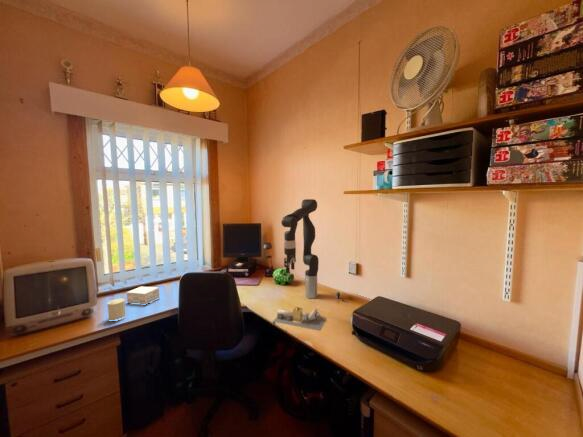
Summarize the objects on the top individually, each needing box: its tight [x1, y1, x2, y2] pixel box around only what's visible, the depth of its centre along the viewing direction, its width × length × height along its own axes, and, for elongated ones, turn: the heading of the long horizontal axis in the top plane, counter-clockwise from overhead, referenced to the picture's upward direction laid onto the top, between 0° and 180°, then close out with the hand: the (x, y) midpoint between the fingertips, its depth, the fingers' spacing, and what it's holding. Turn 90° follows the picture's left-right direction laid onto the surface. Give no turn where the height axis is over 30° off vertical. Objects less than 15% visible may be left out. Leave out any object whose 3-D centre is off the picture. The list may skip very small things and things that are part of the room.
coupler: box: [292, 306, 304, 322], centre depth 147 cm, size 4×4×8 cm
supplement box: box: [126, 285, 160, 304], centre depth 183 cm, size 17×13×9 cm
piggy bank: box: [272, 267, 295, 286], centre depth 216 cm, size 14×18×15 cm
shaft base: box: [272, 308, 328, 332], centre depth 148 cm, size 16×30×6 cm, turn 68°
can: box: [107, 298, 127, 321], centre depth 156 cm, size 9×9×12 cm
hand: (290, 271), depth 159 cm, fingers open, 8 cm apart
